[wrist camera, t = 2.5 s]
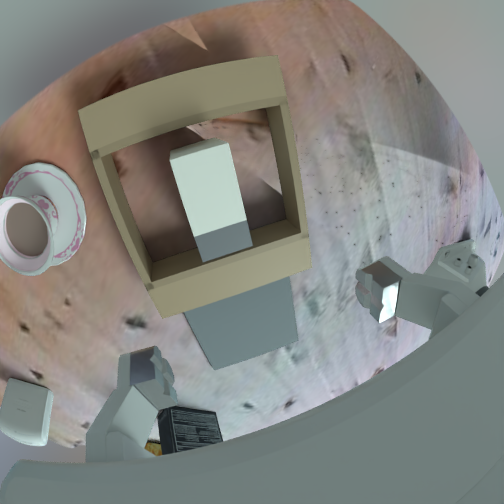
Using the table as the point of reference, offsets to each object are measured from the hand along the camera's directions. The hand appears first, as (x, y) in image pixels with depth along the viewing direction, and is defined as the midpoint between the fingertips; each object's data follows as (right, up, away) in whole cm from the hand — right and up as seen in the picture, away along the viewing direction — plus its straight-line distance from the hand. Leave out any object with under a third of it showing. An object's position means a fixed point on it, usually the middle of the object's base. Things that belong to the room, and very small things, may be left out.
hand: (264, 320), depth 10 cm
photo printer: (-41, -22, +23) cm, 52 cm away
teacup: (-23, +7, +13) cm, 28 cm away
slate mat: (-1, -8, +28) cm, 29 cm away
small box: (-13, -29, +35) cm, 48 cm away
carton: (-5, +9, +17) cm, 20 cm away
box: (-5, +9, +17) cm, 20 cm away
